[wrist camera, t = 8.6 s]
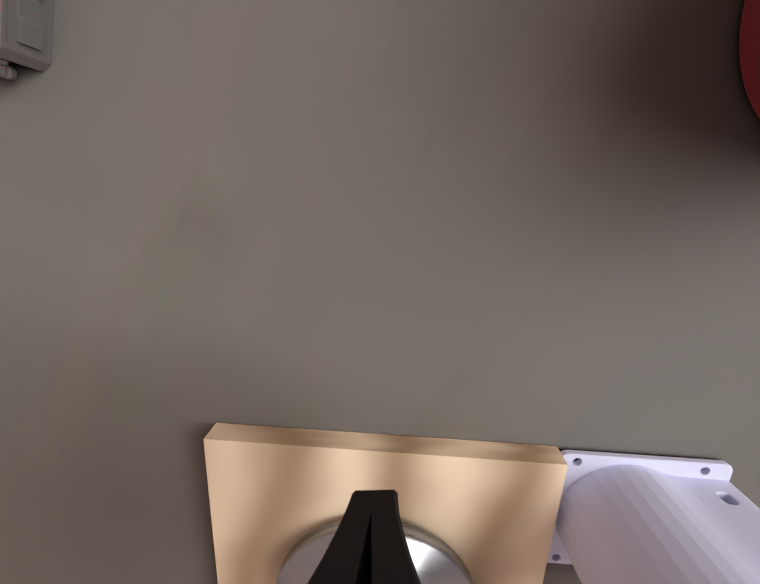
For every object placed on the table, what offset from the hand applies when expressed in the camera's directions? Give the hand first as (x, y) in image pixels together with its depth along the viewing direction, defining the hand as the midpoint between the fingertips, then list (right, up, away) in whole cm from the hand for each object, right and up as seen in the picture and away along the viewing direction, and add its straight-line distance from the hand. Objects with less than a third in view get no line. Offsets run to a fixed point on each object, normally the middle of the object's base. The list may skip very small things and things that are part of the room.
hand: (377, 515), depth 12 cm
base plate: (0, -11, +13) cm, 17 cm away
